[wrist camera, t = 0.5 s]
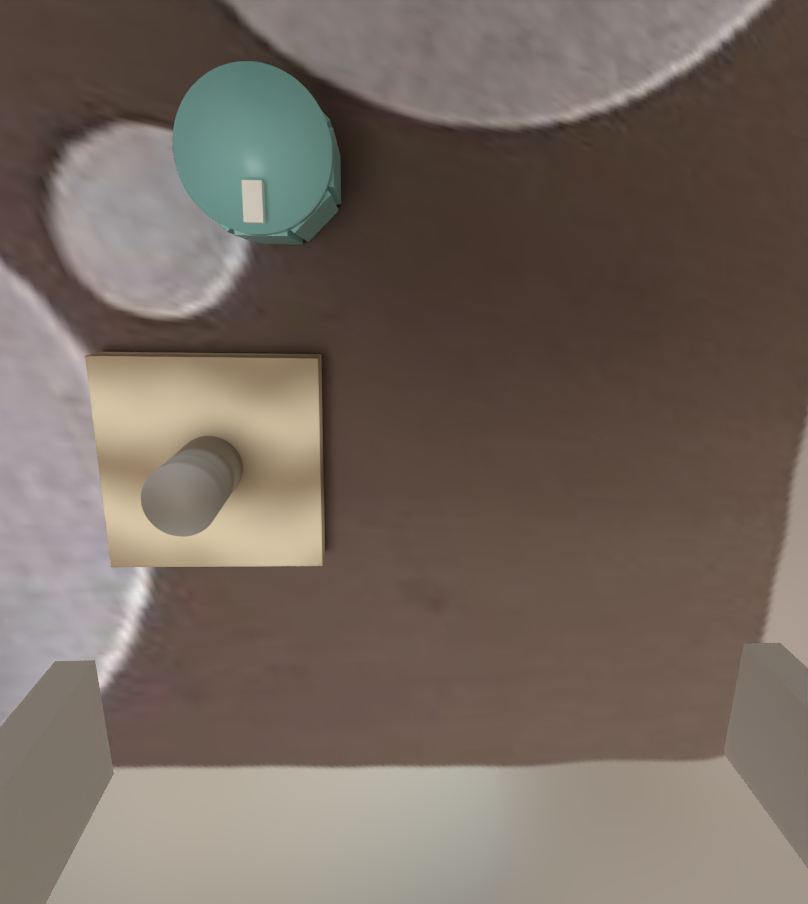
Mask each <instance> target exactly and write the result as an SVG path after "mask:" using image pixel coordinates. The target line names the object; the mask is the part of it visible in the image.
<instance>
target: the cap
mask: <svg viewBox="0 0 808 904" xmlns="http://www.w3.org/2000/svg"><path fill="white" fill-rule="evenodd" d="M173 153H174V160H175V164H176V167H177V171H178V174H179V176H180V179H181V181H182V183H183V185H184V187H185V189H186V191H187V192H188V194H189V195H190V197H191V198H192V199H193V201H194V202H195V203H196V204H197V205H198V206H199V208H200V209H201V210H203V211H204V212H205V213H206V214H207V215H208V216H209V217H211V218H212V219H214V220H215V221H217V222H218V223H219V224H220V225H221V226H222V227H223V228H224V229H225V230H226V231H227V232H229V233H232V234H234V235H236V236H239V237H241V238H244V239H247V240H250V241H253V242H256V243H259V244H293V245H303V239H304V240H306V241H307V242H309V241H310V240H311V239H312V238H313V237H314V236H315V235H316V234H317V233H318V232H319V231H320V230H321V229H322V228H323V227H324V226H325V225H326V224H327V222H328V221H329V220H330V219H331V218H332V217H333V216H334V215H335V214H336V213H337V212H338V211H339V210H338V208H337V206H336V204H341V156H340V152H339V148H338V145H337V141H336V137H335V133H334V129H333V128H332V125H331V122H330V119H329V118H328V117H327V116H326V115H325V114H324V112H323V111H322V110H321V109H320V107H319V105H318V104H317V102H316V101H315V99H314V98H313V96H312V95H311V94H310V93H309V91H308V90H307V89H306V88H305V87H304V86H303V85H302V84H301V83H300V82H299V81H298V80H296V79H295V78H294V77H292V76H291V75H290V74H288V73H286V72H284V71H283V70H281V69H279V68H276V67H274V66H271V65H268V64H264V63H260V62H252V61H238V62H233V63H228V64H225V65H222V66H219V67H217V68H215V69H213V70H211V71H209V72H208V73H206V74H205V75H204V76H202V77H201V78H200V79H199V80H198V81H197V82H196V83H195V84H194V85H193V86H192V87H191V88H190V89H189V91H188V92H187V94H186V95H185V97H184V99H183V100H182V102H181V104H180V107H179V109H178V112H177V115H176V119H175V123H174V129H173Z"/></svg>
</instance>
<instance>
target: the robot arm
mask: <svg viewBox="0 0 808 904" xmlns="http://www.w3.org/2000/svg"><path fill="white" fill-rule="evenodd" d="M724 754H725V756H726V757H727V758H728V760H729V761H730V762H731V764H732V765H733V767H734V768H735V769H736V771H737V772H738V773H739V775H740V776H741V777H742V779H743V780H744V782H745V783H746V784H747V786H748V787H749V788H750V790H751V791H752V793H753V794H754V795H755V797H756V798H757V799H758V801H759V802H760V804H761V805H762V806H763V808H764V809H765V810H766V812H767V813H768V814H769V816H770V817H771V818H772V820H773V821H774V823H775V824H776V825H777V827H778V828H779V829H780V831H781V832H782V834H783V835H784V836H785V838H786V839H787V840H788V842H789V843H790V845H791V846H792V847H793V849H794V850H795V851H796V853H797V854H798V855H799V857H800V858H801V859H802V861H803V862H804V864H805V865H806V866H807V868H808V668H807V667H806V666H805V665H804V664H802V663H801V662H800V661H799V660H798V659H797V658H796V657H795V656H794V655H793V654H791V653H790V652H789V651H788V650H787V649H786V648H785V647H784V646H783V645H782V644H780V643H756V644H744V646H743V652H742V657H741V662H740V668H739V673H738V679H737V684H736V689H735V695H734V700H733V706H732V711H731V716H730V722H729V727H728V733H727V738H726V743H725V749H724ZM112 776H113V768H112V762H111V756H110V750H109V743H108V737H107V731H106V725H105V719H104V713H103V707H102V701H101V695H100V688H99V682H98V676H97V670H96V664H95V660H92V661H55V662H54V663H53V664H52V666H51V667H50V668H49V669H48V671H47V672H46V673H45V674H44V675H43V677H42V678H41V679H40V680H39V681H38V683H37V684H36V685H35V686H34V687H33V689H32V690H31V691H30V692H29V693H28V695H27V696H26V697H25V698H24V700H23V701H22V702H21V703H20V704H19V706H18V707H17V708H16V709H15V710H14V712H13V713H12V714H11V715H10V716H9V718H8V719H7V720H6V721H5V722H4V724H3V725H2V726H1V727H0V904H46V902H47V900H48V898H49V896H50V894H51V892H52V890H53V888H54V886H55V884H56V883H57V880H58V879H59V877H60V875H61V873H62V871H63V869H64V867H65V865H66V864H67V862H68V859H69V858H70V856H71V854H72V852H73V850H74V848H75V846H76V844H77V842H78V841H79V839H80V837H81V835H82V833H83V831H84V829H85V827H86V825H87V823H88V822H89V820H90V818H91V816H92V813H93V812H94V810H95V808H96V806H97V804H98V802H99V801H100V798H101V797H102V794H103V793H104V791H105V789H106V787H107V785H108V783H109V781H110V780H111V778H112Z"/></svg>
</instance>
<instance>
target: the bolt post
mask: <svg viewBox="0 0 808 904" xmlns="http://www.w3.org/2000/svg"><path fill="white" fill-rule="evenodd" d="M85 358H86V366H87V375H88V383H89V391H90V399H91V407H92V415H93V423H94V431H95V439H96V447H97V455H98V463H99V471H100V480H101V488H102V496H103V504H104V512H105V520H106V528H107V536H108V544H109V552H110V560H111V567H203V566H322V565H323V560H324V554H325V521H324V471H323V420H322V369H321V354H255V353H170V352H99V353H95V354H91V355H87V356H85Z"/></svg>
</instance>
